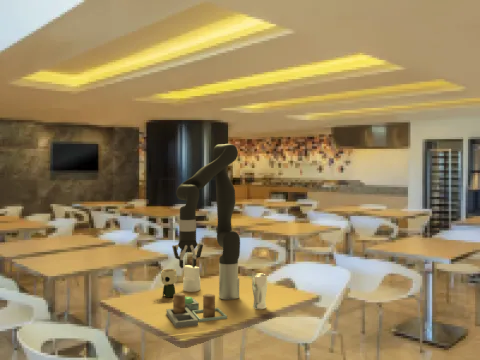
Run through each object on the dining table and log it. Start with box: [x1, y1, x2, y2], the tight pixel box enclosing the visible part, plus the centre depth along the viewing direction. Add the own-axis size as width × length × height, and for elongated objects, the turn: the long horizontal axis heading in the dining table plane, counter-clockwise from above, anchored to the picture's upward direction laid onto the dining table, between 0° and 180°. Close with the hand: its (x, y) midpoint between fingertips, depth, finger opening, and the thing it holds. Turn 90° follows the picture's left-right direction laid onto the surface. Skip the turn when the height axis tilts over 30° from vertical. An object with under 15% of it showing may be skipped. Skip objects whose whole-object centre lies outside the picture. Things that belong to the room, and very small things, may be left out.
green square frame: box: [191, 307, 228, 323], centre depth 194 cm, size 12×12×2 cm
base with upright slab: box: [182, 264, 201, 293], centre depth 240 cm, size 9×9×12 cm
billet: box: [202, 293, 216, 318], centre depth 194 cm, size 5×5×9 cm
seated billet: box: [172, 292, 186, 314], centre depth 194 cm, size 5×5×9 cm
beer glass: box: [251, 272, 268, 310], centre depth 209 cm, size 7×7×15 cm
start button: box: [185, 296, 193, 304], centre depth 204 cm, size 4×4×5 cm
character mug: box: [160, 268, 178, 298], centre depth 226 cm, size 11×7×13 cm, turn 54°
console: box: [185, 297, 200, 312], centre depth 204 cm, size 8×8×4 cm
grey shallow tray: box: [165, 307, 199, 329], centre depth 189 cm, size 18×9×3 cm, turn 21°
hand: (187, 267), depth 204 cm, fingers open, 4 cm apart
